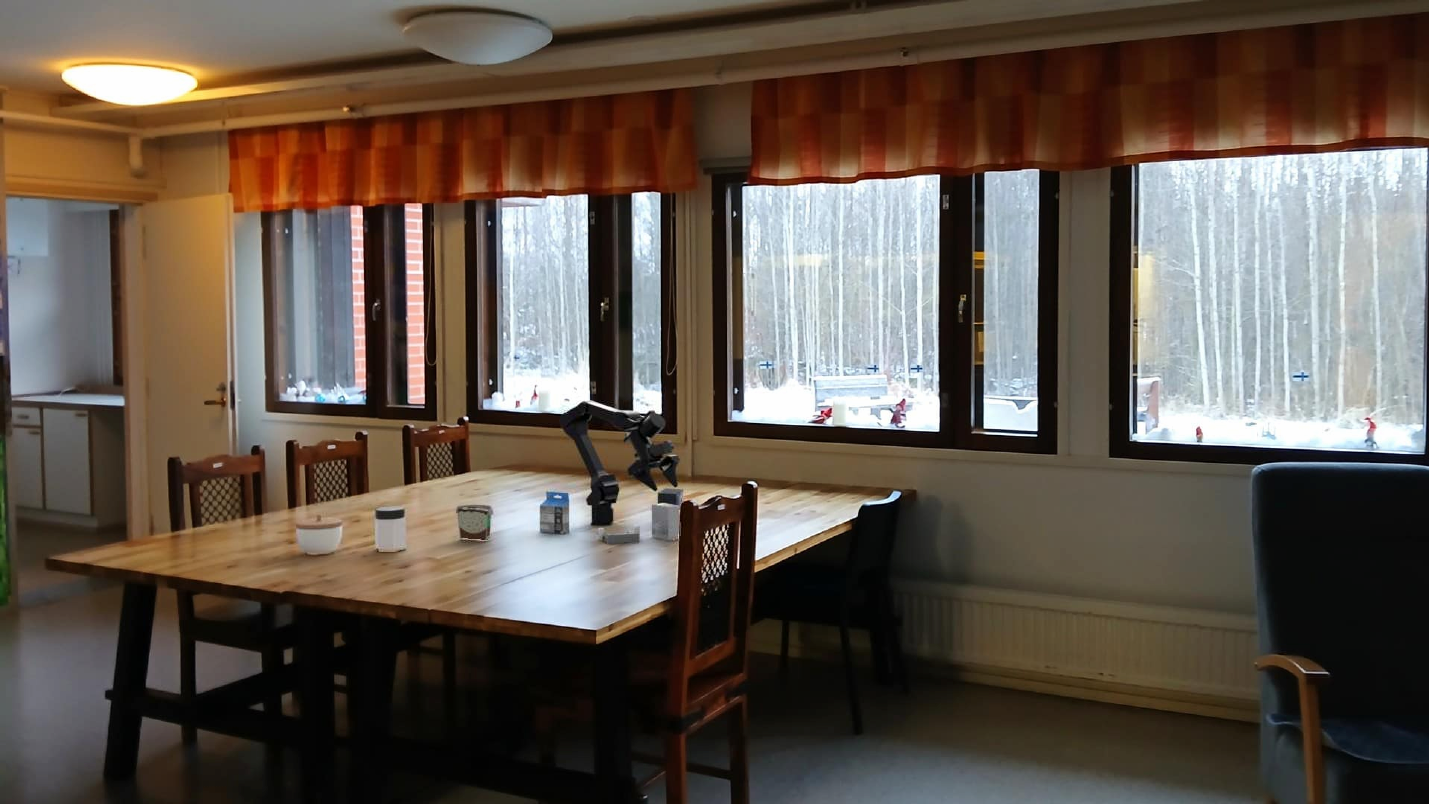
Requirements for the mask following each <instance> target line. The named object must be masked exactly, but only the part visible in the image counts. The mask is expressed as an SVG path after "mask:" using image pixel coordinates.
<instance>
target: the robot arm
mask: <svg viewBox="0 0 1429 804" xmlns="http://www.w3.org/2000/svg"><path fill="white" fill-rule="evenodd" d="M592 417H595V418H597V419H598V418H599V419H602V420H604V421H607V422H609V423H611V424H612V425H613V426H614V427H615V428H617V429H618V430H620V431H629V432H626V433H625V434H624V438H623V443H630V444H631V445H632V446H631V447H632V448H633V450H634V451H635V453H634V454H633V456H634V458H638V459H635V460H634V461H633V462H632V463H631V464H630V465H629V466H628V467H627V470H626V473H627V475H628V476H629V478H632V477H633V479H636V480H637V481H638V482H640V483H643V484H644V485H645V486H647V487H648V488H649V489H651V490H652V491H653V492H657V491H658V487H657V484H656V481H655V479H654V478H653V475H652V474H651V469H657V468H659V470H660V471H661V474H662V476H663V477H664V478H665V479H666V480H667V481H668V482H669V483H670V485H672V486H673V487H674V489H677V487H678V478H677V473H676V472H677V471H676V469H677V466H678V465H679V463H680V462H681V459H680V457H679V456H678V455H676V454H671V453H673V450H675V445H674V443H673V442H672V440H671V439H667V440H665V441H663V443H656V442H654V443H653V442H652V441H651V439H652V438H654V437H656V436H657V434H659V433H660V432H661V431H662V429H664V428H665V427H666V420H665V418H664V417H662V416H661V415H660V414H659V413H657V412H656V410H654V409H653V410H652V409H651V410H649V411H647V413H646V414H645V415H644V416H642V415H641V414H640V412H639V411H637V410H628V409H627V410H624V409H623V410H621V409H617V408H614V407H612V406H607V405H605V404H602V403H599V402H596V401H594V400H582V401H581V402H580V403H578V404H577V405H576V406H574V407H572V408H571V409H569V410H567V411H565V412H564V413H562V414H561V415H560V419H559V425H560V427H561V429H562V430H563V432H564V434H566V436H568V437H569V438H570V439H572V440H573V441H574V444H575V446H576V448H577V451H578V452H579V455H580V458H581V460H582V461H583V463H584V466H585V468H586V470H587V473H588V474H589V476H590V487H589V488H590V490H591V492H590V493H589V495H587V497H586V499H585V501H586V504H587V506H591V522H590V525H591V526H593V525H595V526H596V525H598V526H602V525H604V526H605V525H606V526H607V525H608V526H609V525H612V524H613V522H614V521H615V513H614V512H615V508H614V507H613V504H617V501H618V497H619V494H620V493H619V492H620V486H619V485H620V483H619V482H618V481H617V478H616V475H615V474H614V473H608V472H607V471H606V469H605V468H604V466H603V464H602V461H601V460H600V457H599V455H598V453H597V451H596V448H595V447H594V444H593V442H592V440H591V438H590V436H589V435H588V434H589V433H588V431H589V422H588V421H590V420H591V419H592ZM630 430H631V431H630ZM666 454H668V455H666ZM665 455H666V456H665ZM661 459H662V460H661Z"/></svg>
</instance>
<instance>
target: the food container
mask: <svg viewBox="0 0 1429 804" xmlns="http://www.w3.org/2000/svg"><path fill="white" fill-rule="evenodd" d="M455 514H457V524H458V531H459V539H460V538H468V539H481V540H488V539H490V537H491V527H492V526H491V523H492V516H493V515H494V510H493V508H492V506H491V505H487V504H486V505H485V504H465V505H464V504H462V505H457V506H456V509H455Z"/></svg>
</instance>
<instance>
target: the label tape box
mask: <svg viewBox="0 0 1429 804" xmlns="http://www.w3.org/2000/svg"><path fill="white" fill-rule="evenodd" d="M545 494H546V495H545V496H546V497H545V498H546V499H545V500H544V501H543V502H541V504H539V532H540V531H541V532H540V533H551V534H562V535H564V533H565V534H568V533H570V498H569V497H570V496H569V494H570V493H569V492H561V491H559V492H557V491H545ZM557 496H558V497H557Z"/></svg>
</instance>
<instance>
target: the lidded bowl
mask: <svg viewBox="0 0 1429 804" xmlns="http://www.w3.org/2000/svg"><path fill="white" fill-rule="evenodd" d="M343 523H344V522H343V519H341V518H339V517H328V516H327V517H325V516H324V517H322V513H318V514H317V513H316V517H311V518H305V519H299V520H297V521H295V528H296V530H295V531H296V539H297V542H298V544H299V547H300V548H301V549H302V550H303V551H304V552H305V551H307V552H327V551H333V550H334V551H335V550H336V549H337V548H338V547H339V545H340V543H341V541H342V537H343ZM334 551H333V552H334ZM307 552H306V553H307Z"/></svg>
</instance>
